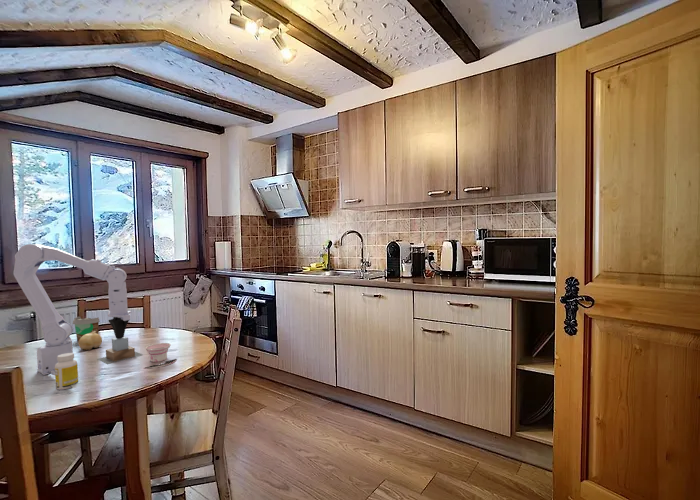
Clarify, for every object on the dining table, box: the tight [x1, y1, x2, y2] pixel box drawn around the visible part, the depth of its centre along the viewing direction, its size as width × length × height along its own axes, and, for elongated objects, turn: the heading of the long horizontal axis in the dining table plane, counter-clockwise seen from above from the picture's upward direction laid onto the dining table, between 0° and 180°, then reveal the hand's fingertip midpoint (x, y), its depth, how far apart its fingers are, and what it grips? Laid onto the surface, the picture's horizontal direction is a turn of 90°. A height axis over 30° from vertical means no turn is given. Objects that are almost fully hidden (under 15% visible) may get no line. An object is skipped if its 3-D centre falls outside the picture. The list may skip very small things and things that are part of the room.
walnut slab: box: [105, 345, 136, 361], centre depth 134 cm, size 7×7×3 cm
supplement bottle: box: [54, 352, 79, 391], centre depth 109 cm, size 5×5×10 cm
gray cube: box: [111, 335, 130, 351], centre depth 134 cm, size 4×4×4 cm
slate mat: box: [96, 351, 144, 365], centre depth 134 cm, size 12×10×1 cm
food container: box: [72, 316, 101, 342], centre depth 162 cm, size 12×6×10 cm, turn 73°
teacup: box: [144, 342, 177, 369], centre depth 129 cm, size 12×12×6 cm
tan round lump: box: [77, 331, 103, 351], centre depth 149 cm, size 8×8×7 cm
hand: (119, 337), depth 134 cm, fingers closed
